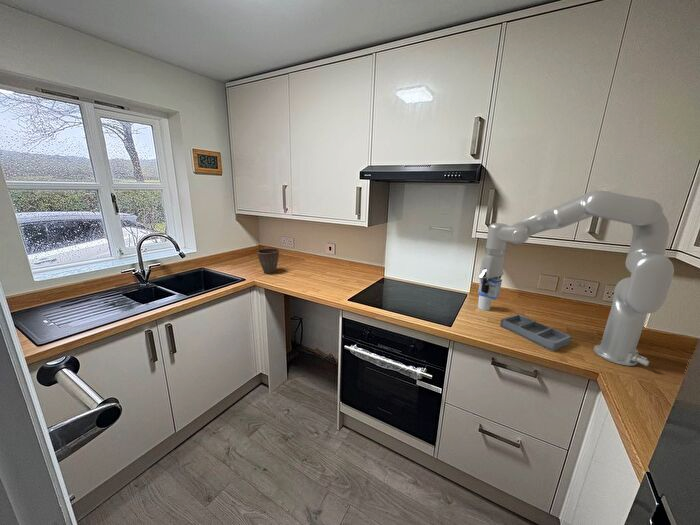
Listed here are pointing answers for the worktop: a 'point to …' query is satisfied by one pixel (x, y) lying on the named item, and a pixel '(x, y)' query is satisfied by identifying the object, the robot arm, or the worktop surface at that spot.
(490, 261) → the robot arm
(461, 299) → the worktop surface
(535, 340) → the organizer tray
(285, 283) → the worktop surface
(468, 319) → the worktop surface
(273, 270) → the plant pot
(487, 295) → the medicine box
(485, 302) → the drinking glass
